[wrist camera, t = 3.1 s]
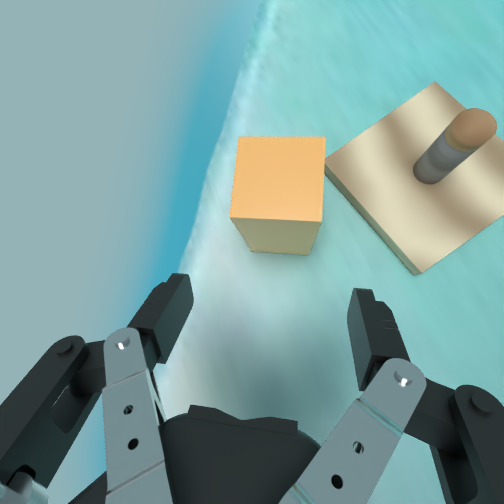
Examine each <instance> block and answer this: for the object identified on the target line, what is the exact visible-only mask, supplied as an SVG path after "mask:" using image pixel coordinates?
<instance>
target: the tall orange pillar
mask: <svg viewBox="0 0 504 504" xmlns="http://www.w3.org/2000/svg"><path fill="white" fill-rule="evenodd" d="M325 143H326V137H239V140H238V148H237V157H236V165H235V174H234V183H233V191H232V200H231V208H230V219H231V220H232V222H233V223H234V225H235V226H236V228H237V229H238V231H239V233H240V234H241V236H242V237H243V239H244V240H245V242H246V243H247V245H248V246H249V248H250V249H251V251H253V252H268V253H283V254H298V255H309V254H310V251H311V249H312V246H313V243H314V241H315V238H316V236H317V233H318V230H319V228H320V225H321V222H322V207H323V186H324V164H325Z"/></svg>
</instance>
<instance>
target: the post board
mask: <svg viewBox="0 0 504 504" xmlns="http://www.w3.org/2000/svg"><path fill="white" fill-rule="evenodd" d="M496 130H497V123H496V120H495V119H494V117H493V116H492V115H491V114H490V113H488V112H487V111H485V110H482V109H477V108H471V109H466V108H465V107H464V106H463V105H461V104H460V103H459V102H458V101H457V100H456V99H455V98H453V97H452V96H451V95H450V94H449V93H448V92H447V91H445V90H444V89H443V88H442V87H441V86H440V85H438V84H437V83H436V82H433V83H432V84H431V85H429V86H428V87H426V88H425V89H423V90H422V91H421V92H419V93H418V94H416V95H415V96H414V97H412V98H411V99H409V100H408V101H406V102H405V103H404V104H402V105H401V106H399V107H398V108H397V109H395V110H394V111H392V112H391V113H389V114H388V115H387V116H385V117H384V118H382V119H381V120H380V121H378V122H377V123H375V124H374V125H372V126H371V127H370V128H368V129H367V130H365V131H364V132H362V133H361V134H360V135H358V136H357V137H355V138H354V139H353V140H351V141H350V142H348V143H347V144H345V145H344V146H343V147H341V148H340V149H338V150H337V151H336V152H334V153H333V154H331V155H330V156H328V157H327V158H326V159H325V164H324V173H325V174H326V176H327V177H328V178H329V179H330V180H331V181H332V182H333V184H334V185H335V186H336V187H337V188H338V189H339V190H340V192H341V193H342V194H343V195H344V196H345V197H346V198H347V200H348V201H349V202H350V203H351V204H352V205H353V206H354V208H355V209H356V210H357V211H358V212H359V213H360V214H361V216H362V217H363V218H364V219H365V220H366V221H367V223H368V224H369V225H370V226H371V227H372V228H373V229H374V231H375V232H376V233H377V234H378V235H379V236H380V237H381V239H382V240H383V241H384V242H385V243H386V244H387V245H388V247H389V248H390V249H391V250H392V251H393V252H394V253H395V255H396V256H397V257H398V258H399V259H400V260H401V261H402V263H403V264H404V265H405V266H406V267H407V268H408V269H409V271H410V272H411V273H412V274H413V275H417V274H420V273H423V272H424V271H426V270H427V269H428V268H430V267H431V266H433V265H434V264H435V263H437V262H438V261H440V260H441V259H442V258H444V257H445V256H447V255H448V254H449V253H451V252H452V251H454V250H455V249H456V248H458V247H459V246H461V245H462V244H463V243H465V242H466V241H468V240H469V239H470V238H472V237H473V236H475V235H476V234H477V233H479V232H480V231H482V230H483V229H484V228H486V227H487V226H489V225H490V224H491V223H493V222H494V221H496V220H497V219H498V218H500V217H501V216H503V215H504V141H503V140H501V139H500V138H499V137H498V136H497V135H496V134H495V133H496Z"/></svg>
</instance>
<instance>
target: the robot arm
mask: <svg viewBox="0 0 504 504" xmlns="http://www.w3.org/2000/svg"><path fill="white" fill-rule="evenodd" d="M193 300H194V298H193V292H192V287H191V282H190V277H189V275H188V274H179V273H173V274H172V275H171V276H170V277H169V279H168V281H167V282H166V283H165V282H162V283H160V284H159V285H158V286H157V287H155V288H154V289H153V290H152V292H151V293H150V294H149V296H148V298H147V299H146V300H145V302H144V304H143V305H142V306H141V307H140V309H139V310H138V312H137V313H136V314H135V316H134V317H133V319H132V320H131V322H130V323H129V324H128V326H127V327H126V328H122V329H119V330H117V331H115V332H113V333H112V334H111V335H110V336H109V337H108V338H107V339H106V340H103V341H97V342H91V343H85V341H84V339H83V338H82V337H80V336H68V337H65V338H63V339H61V340H59V341H57V342H56V343H54V344H53V345H52V346H51V347H50V348H49V349H48V350H47V352H46V353H45V354H44V355H43V356H42V357H41V359H40V360H39V361H38V362H37V363H36V364H35V365H34V367H33V368H32V369H31V370H30V371H29V372H28V374H27V375H26V376H25V377H24V378H23V380H22V381H21V382H20V383H19V384H18V385H17V387H16V388H15V389H14V390H13V391H12V392H11V393H10V395H9V396H8V397H7V398H6V399H5V400H4V402H3V403H2V404H1V405H0V504H48V491H47V488H48V486H49V484H50V482H51V480H52V479H53V477H54V475H55V474H56V472H57V470H58V468H59V466H60V465H61V463H62V461H63V460H64V458H65V456H66V454H67V452H68V451H69V449H70V447H71V446H72V444H73V442H74V440H75V439H76V437H77V435H78V433H79V432H80V430H81V428H82V426H83V424H84V423H85V421H86V419H87V418H88V416H89V414H90V412H91V410H92V409H93V407H94V405H95V403H96V401H97V400H98V398H99V396H100V394H101V393H102V401H103V418H104V434H105V450H106V465H107V471H105V472H104V473H103V474H102V475H101V476H100V477H98V478H97V479H96V480H95V481H94V482H93V483H91V484H90V485H89V486H88V487H87V488H86V489H84V490H83V491H82V492H81V493H80V494H79V495H77V496H76V497H75V498H74V499H73V500H72V501H70V502H69V503H68V504H367V502H368V500H369V498H370V496H371V494H372V492H373V490H374V488H375V486H376V484H377V482H378V480H379V479H380V477H381V475H382V473H383V471H384V469H385V467H386V465H387V463H388V461H389V459H390V457H391V455H392V453H393V452H394V450H395V448H396V446H397V444H398V442H399V440H400V438H401V436H402V434H403V432H404V433H406V434H409V435H411V436H413V437H415V438H417V439H419V440H421V441H423V442H425V443H427V444H429V446H430V449H431V453H432V456H433V460H434V463H435V467H436V470H437V474H438V477H439V481H440V484H441V488H442V491H443V495H444V498H445V502H446V504H504V407H503V405H502V404H501V403H500V402H499V401H498V400H497V399H496V398H495V397H494V396H493V395H491V394H490V393H489V392H487V391H485V390H483V389H481V388H479V387H476V386H473V385H461V386H459V387H458V388H457V389H456V390H453V389H451V388H448V387H446V386H443V385H441V384H438V383H435V382H433V381H431V380H429V379H427V378H426V377H425V376H424V375H423V373H422V372H421V370H420V369H419V368H418V367H416V366H415V365H414V364H412V363H411V361H410V359H409V356H408V353H407V351H406V348H405V345H404V343H403V340H402V337H401V335H400V332H399V330H398V327H397V324H396V322H395V318H394V316H393V313H392V310H391V309H390V308H389V307H388V306H387V305H386V304H385V303H384V302H381V301H375V297H374V294H373V291H372V290H371V289H361V288H354V289H353V292H352V296H351V300H350V304H349V309H348V314H347V324H348V330H349V336H350V341H351V347H352V353H353V359H354V364H355V370H356V376H357V381H358V387H359V391H364V393H363V394H362V396H361V397H360V398H359V399H358V398H357V399H356V400H355V401H354V402H353V404H352V405H351V406H350V408H349V409H348V410H347V412H346V413H345V415H344V416H343V417H342V419H341V420H340V422H339V423H338V424H337V426H336V427H335V429H334V430H333V431H332V433H331V434H330V436H329V437H328V438H327V440H326V441H325V443H324V444H323V445H322V447H321V446H320V445H319V444H318V443H317V442H316V441H315V440H313V439H312V438H311V437H310V436H308V435H307V434H305V433H303V432H301V431H299V430H297V425H298V421H294V420H287V419H281V418H274V417H265V418H257V419H249V420H239V419H237V418H235V417H233V416H231V415H229V414H226V413H224V412H222V411H220V410H218V409H216V408H210V407H204V406H197V405H190V408H189V411H188V413H184V414H180V415H177V416H175V417H172V418H170V419H168V420H167V419H166V416H165V413H164V410H163V406H162V402H161V398H160V394H159V390H158V386H157V382H156V378H155V374H154V370H153V369H154V367H155V365H156V363H162V364H166V362H167V360H168V357H169V355H170V353H171V351H172V349H173V347H174V345H175V343H176V341H177V339H178V337H179V334H180V332H181V330H182V328H183V326H184V324H185V322H186V320H187V318H188V316H189V313H190V311H191V309H192V306H193ZM64 389H65V390H64ZM63 390H64V391H63ZM62 392H63V393H62ZM61 393H62V394H61ZM60 395H61V396H60ZM59 396H60V397H59ZM58 397H59V399H58ZM57 399H58V400H57ZM55 402H56V403H55ZM54 403H55V404H54ZM53 405H54V406H53Z"/></svg>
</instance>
